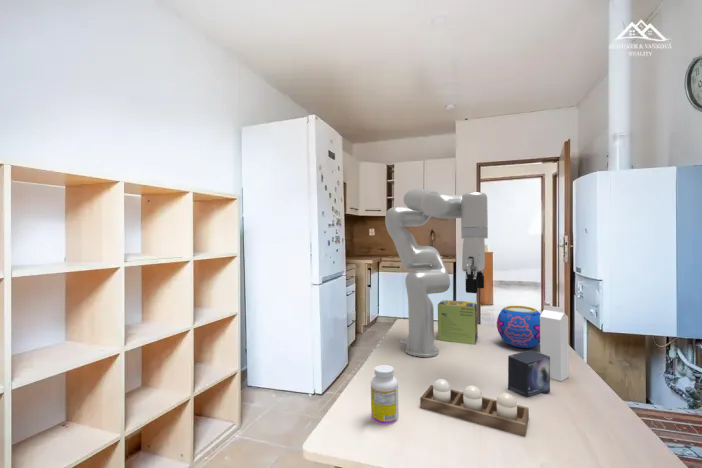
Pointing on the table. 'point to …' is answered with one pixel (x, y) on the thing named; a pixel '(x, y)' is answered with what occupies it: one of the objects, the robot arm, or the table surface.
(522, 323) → the ceramic pot
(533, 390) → the small box
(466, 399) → the egg middle
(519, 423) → the crate
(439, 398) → the white rounded cylinder
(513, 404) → the egg far
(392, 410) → the supplement bottle
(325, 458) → the table surface
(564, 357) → the milk
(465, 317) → the protein box
